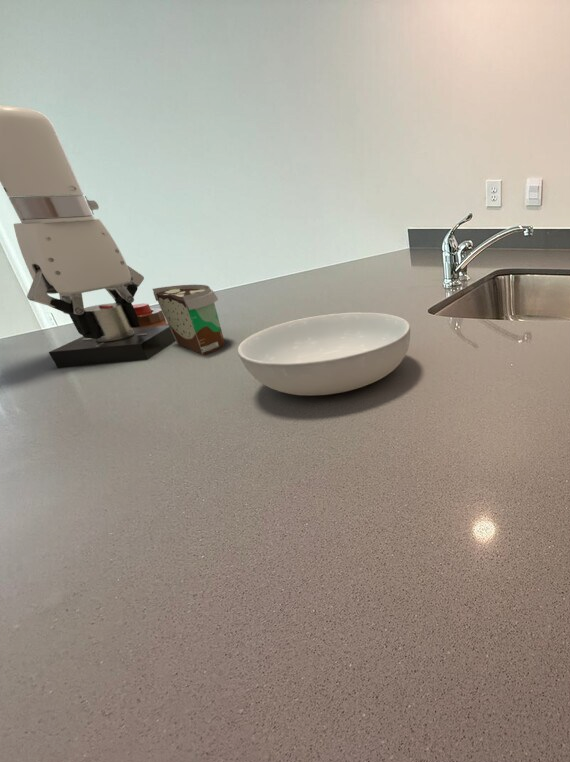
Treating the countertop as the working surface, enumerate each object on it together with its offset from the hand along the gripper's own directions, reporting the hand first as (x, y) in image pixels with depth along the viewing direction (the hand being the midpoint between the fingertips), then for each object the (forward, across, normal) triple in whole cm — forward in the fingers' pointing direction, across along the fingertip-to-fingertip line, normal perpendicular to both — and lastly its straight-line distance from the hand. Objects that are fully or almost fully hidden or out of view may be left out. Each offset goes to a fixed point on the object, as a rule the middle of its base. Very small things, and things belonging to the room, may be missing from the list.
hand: (112, 330), depth 66 cm
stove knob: (+1, 0, 0) cm, 1 cm away
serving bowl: (+4, 0, +42) cm, 43 cm away
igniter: (+4, -10, -8) cm, 13 cm away
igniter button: (+1, -10, -8) cm, 12 cm away
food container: (+4, -6, +11) cm, 14 cm away
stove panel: (+4, 0, 0) cm, 4 cm away
